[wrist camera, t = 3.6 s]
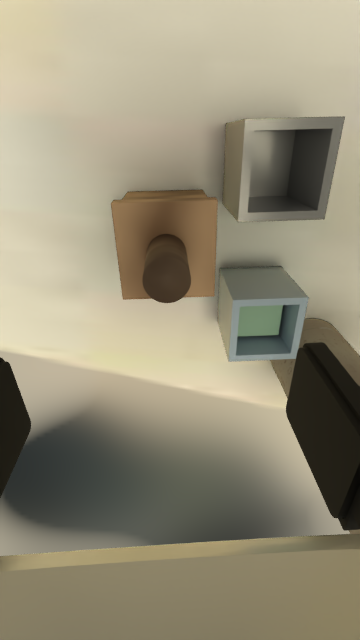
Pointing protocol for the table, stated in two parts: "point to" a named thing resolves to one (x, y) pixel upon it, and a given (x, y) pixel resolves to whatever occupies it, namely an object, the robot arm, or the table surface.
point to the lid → (166, 247)
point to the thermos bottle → (335, 342)
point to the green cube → (259, 320)
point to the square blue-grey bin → (260, 291)
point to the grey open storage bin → (280, 167)
